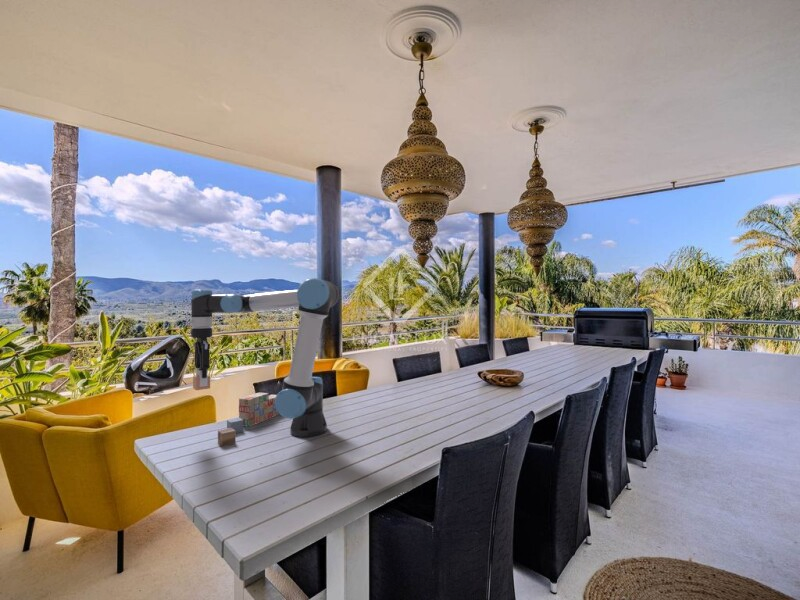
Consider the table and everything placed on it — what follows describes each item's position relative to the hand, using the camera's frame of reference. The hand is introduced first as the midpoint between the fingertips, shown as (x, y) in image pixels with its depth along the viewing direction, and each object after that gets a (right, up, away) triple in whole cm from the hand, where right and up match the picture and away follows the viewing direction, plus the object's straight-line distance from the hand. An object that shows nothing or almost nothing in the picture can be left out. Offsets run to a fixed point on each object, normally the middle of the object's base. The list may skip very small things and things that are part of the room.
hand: (201, 384), depth 146 cm
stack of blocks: (+14, -23, +26) cm, 37 cm away
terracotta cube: (0, -1, 0) cm, 1 cm away
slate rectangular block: (+10, -22, +8) cm, 25 cm away
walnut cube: (+13, -22, -5) cm, 26 cm away
